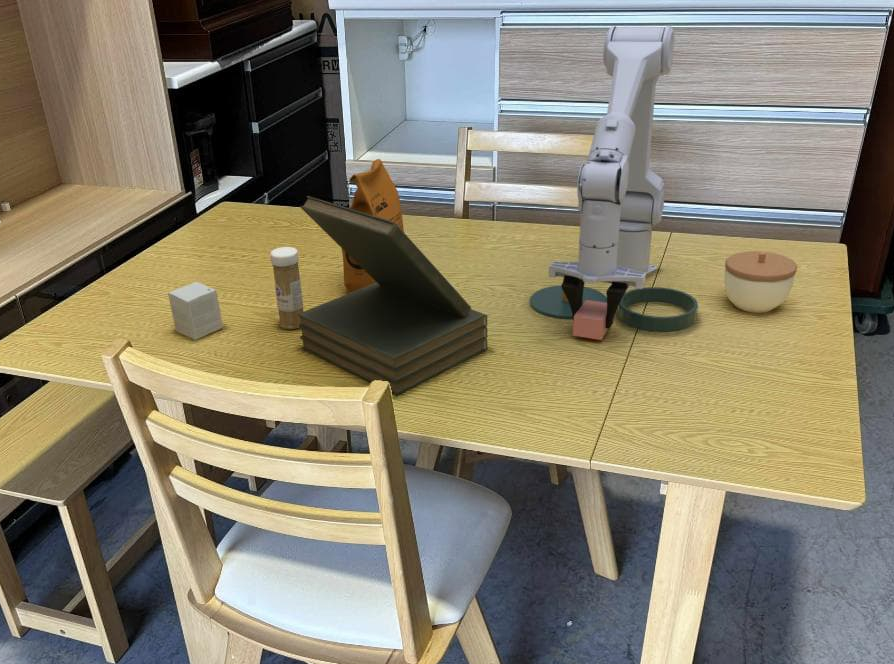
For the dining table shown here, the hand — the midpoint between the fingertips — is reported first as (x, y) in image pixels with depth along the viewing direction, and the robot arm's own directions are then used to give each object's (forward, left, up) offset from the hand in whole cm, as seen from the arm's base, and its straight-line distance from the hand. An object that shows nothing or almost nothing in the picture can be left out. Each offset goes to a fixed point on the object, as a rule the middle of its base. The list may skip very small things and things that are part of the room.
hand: (592, 323), depth 138 cm
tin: (+4, +12, -2) cm, 13 cm away
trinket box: (+13, +26, -2) cm, 29 cm away
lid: (-10, +7, -2) cm, 12 cm away
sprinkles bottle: (-41, -29, -2) cm, 50 cm away
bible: (-21, -24, -2) cm, 32 cm away
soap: (0, 0, -1) cm, 1 cm away
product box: (-52, -41, -2) cm, 66 cm away
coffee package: (-43, -8, -2) cm, 44 cm away
